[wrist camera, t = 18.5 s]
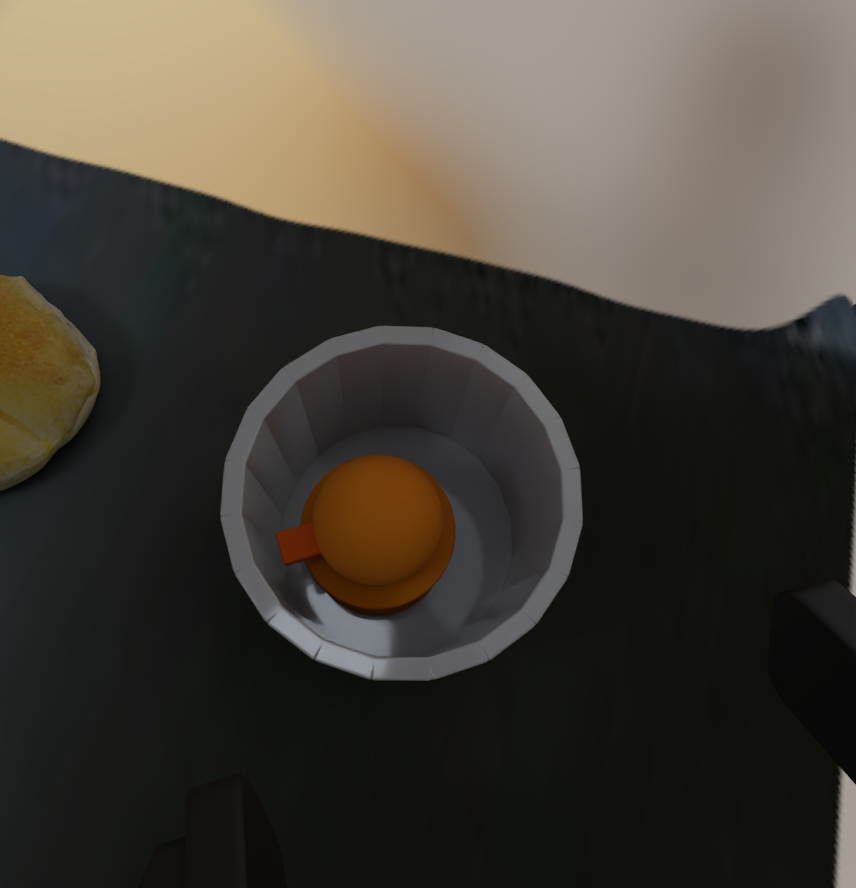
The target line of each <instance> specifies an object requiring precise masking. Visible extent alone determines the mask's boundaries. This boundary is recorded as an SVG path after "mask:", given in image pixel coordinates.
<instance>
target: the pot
mask: <svg viewBox="0 0 856 888" xmlns="http://www.w3.org/2000/svg"><path fill="white" fill-rule="evenodd" d="M366 455H390V456H396V457H399V458H402V459H406V460H408V461H410V462H412V463H415V464H416V465H418V466H420V467H421V468H423V469H424V470H425V471H427V472H428V473H429V474H430V475H431V476H432V477H433V478H434V479H435V480H436V481H437V482H438V483H439V484H440V486H441V487H442V489H443V490H444V492H445V493H446V495H447V497H448V499H449V501H450V504H451V506H452V510H453V514H454V518H455V526H456V538H455V545H454V550H453V553H452V557H451V559H450V562H449V564H448V566H447V568H446V570H445V571H444V573H443V575H442V576H441V577H440V579H439V580H438V581H437V582H436V584H435V585H434V586H433V587H432V589H431V590H430V591H429V592H428V594H427V595H426V596H424V597H423V598H422V599H421V600H420V601H419V602H417V603H416V604H415V605H413V606H411V607H410V608H408V609H406V610H404V611H401V612H398V613H395V614H391V615H384V616H370V615H364V614H360V613H356V612H353V611H351V610H349V609H347V608H345V607H343V606H342V605H340V604H339V603H337V602H336V601H335V600H334V599H332V598H331V597H330V596H329V595H328V593H327V592H326V591H325V590H324V589H323V588H322V587H321V585H320V584H319V583H318V582H317V581H316V580H315V578H314V577H313V575H312V574H311V572H310V571H309V569H308V567H307V565H306V563H305V561H303V562H300V563H296V564H293V565H290V566H286V565H285V564H284V563H283V561H282V557H281V553H280V549H279V546H278V542H277V538H276V533H277V532H280V531H283V530H287V529H290V528H294V527H297V526H300V520H301V516H302V511H303V508H304V506H305V503H306V501H307V499H308V497H309V495H310V493H311V491H312V490H313V488H314V487H315V486H316V484H317V483H318V482H319V481H320V480H321V479H322V478H323V477H324V476H325V475H326V474H327V473H328V472H329V471H331V470H332V469H334V468H335V467H337V466H338V465H340V464H342V463H344V462H346V461H348V460H351V459H354V458H357V457H361V456H366ZM579 468H580V466H579V463H578V460H577V458H576V455H575V452H574V450H573V447H572V444H571V442H570V439H569V436H568V434H567V431H566V429H565V426H564V423H563V421H562V418H560V415H559V414H558V413H557V412H556V410H555V409H554V408H553V406H552V405H551V404H550V403H549V401H548V400H547V399H546V397H545V396H544V395H543V394H542V392H541V391H540V390H539V389H538V387H537V386H536V385H535V383H534V382H533V381H532V380H531V378H530V377H529V376H527V374H526V373H525V372H523V371H522V370H520V369H519V368H517V367H516V366H515V365H513V364H512V363H510V362H509V361H507V360H506V359H505V358H503V357H502V356H500V355H499V354H497V353H496V352H495V351H493V350H492V349H490V348H489V347H487V346H486V345H484V346H483V344H482V343H479V342H476V341H473V340H470V339H467V338H464V337H461V336H458V335H455V334H452V333H449V332H446V331H443V330H440V329H437V328H434V329H433V328H431V327H403V326H381V327H380V326H377V327H373V328H369V329H365V330H362V331H358V332H354V333H350V334H346V335H343V336H339V337H335V338H331V339H329V341H328V340H327V341H325V342H324V343H322V344H320V345H319V346H317V347H315V348H314V349H312V350H311V351H309V352H307V353H306V354H304V355H302V356H301V357H299V358H298V359H296V360H294V361H293V362H291V363H290V364H288V365H286V366H285V367H284V368H282V369H281V370H280V371H279V372H278V373H277V374H276V375H275V377H274V378H273V379H272V380H271V381H270V382H269V383H268V385H267V386H266V387H265V388H264V389H263V390H262V392H261V393H260V394H259V395H258V396H257V397H256V398H255V400H254V401H253V402H252V403H251V404H250V405H249V407H248V408H247V411H246V412H245V414H244V416H243V418H242V421H241V423H240V426H239V428H238V430H237V433H236V435H235V437H234V440H233V442H232V444H231V447H230V449H229V451H228V454H227V456H226V461H225V463H224V473H223V485H222V498H221V510H220V516H221V519H220V520H221V524H222V528H223V532H224V536H225V540H226V544H227V548H228V552H229V556H230V560H231V564H232V568H233V571H234V573H235V576H236V577H237V579H238V580H239V582H240V584H241V585H242V587H243V588H244V590H245V591H246V593H247V594H248V596H249V597H250V599H251V601H252V602H253V604H254V605H255V607H256V608H257V610H258V611H259V613H260V614H261V616H262V618H263V619H264V621H266V622H267V623H268V625H269V626H270V627H272V628H273V629H274V630H276V631H277V632H278V633H279V634H281V635H282V636H283V637H284V638H286V639H287V640H288V641H290V642H291V643H292V644H293V645H295V646H296V647H297V648H299V649H300V650H301V651H302V652H304V653H305V654H306V655H307V656H309V657H310V658H311V659H315V661H317V662H320V663H323V664H326V665H328V666H331V667H334V668H337V669H340V670H343V671H346V672H349V673H352V674H354V675H357V676H360V677H363V678H366V679H371V678H372V680H416V681H429V680H431V679H433V680H435V679H438V678H441V677H444V676H447V675H450V674H453V673H456V672H459V671H462V670H465V669H468V668H471V667H474V666H477V665H480V664H483V663H486V662H487V661H488V660H492V659H493V658H494V657H495V656H497V655H498V654H499V653H501V652H502V651H503V650H505V649H506V648H507V647H509V646H510V645H511V644H512V643H514V642H515V641H516V640H518V639H519V638H520V637H522V636H523V635H524V634H526V633H527V632H528V631H529V630H531V629H532V628H533V627H534V626H535V624H537V623H538V622H539V620H540V619H541V617H542V616H543V614H544V613H545V611H546V610H547V608H548V607H549V605H550V604H551V602H552V601H553V599H554V598H555V596H556V595H557V593H558V592H559V590H560V589H561V587H562V586H563V584H564V583H565V581H566V580H567V577H568V576H569V573H570V570H571V566H572V562H573V559H574V555H575V551H576V548H577V544H578V540H579V537H580V533H581V529H582V526H583V523H582V522H583V513H582V493H581V473H580V469H579Z"/></svg>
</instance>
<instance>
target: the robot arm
mask: <svg viewBox="0 0 856 888" xmlns="http://www.w3.org/2000/svg"><path fill="white" fill-rule="evenodd" d="M768 670H769V674H770V677H771V680H772V683H773V685H774V687H775V689H776V691H777V693H778V695H779V696H780V698H781V699H782V701H783V702H784V703H785V705H786V706H787V707H788V708H789V709H790V710H791V712H792V713H793V714H794V715H795V716H796V717H797V718H798V719H799V721H800V722H801V723H802V724H803V725H804V726H805V727H806V729H807V730H808V731H809V732H810V733H811V734H812V735H813V737H814V738H815V739H816V740H817V741H818V742H819V743H820V744H821V746H822V747H823V748H824V749H825V750H826V751H827V752H828V754H829V755H830V756H831V757H832V758H833V759H834V760H835V762H836V763H837V764H838V765H839V766H840V767H841V768H842V769H843V771H844V772H845V773H846V774H847V775H848V776H849V777H850V779H851V780H852V781H853V782H854V783H855V784H856V597H855V596H854V595H853V594H851V593H850V592H849V591H848V590H847V589H846V588H844V587H843V586H842V585H841V584H839V583H838V582H836V581H835V580H832V579H829V578H821V579H818V580H815V581H813V582H810V583H807V584H804V585H801V586H798V587H795V588H792V589H789V590H786V591H783V592H780V593H778V594H777V595H776V596H775V599H774V603H773V612H772V623H771V633H770V644H769V654H768ZM138 888H287V884H286V876H285V869H284V864H283V859H282V855H281V851H280V847H279V844H278V840H277V837H276V835H275V832H274V830H273V828H272V826H271V823H270V821H269V819H268V817H267V815H266V813H265V810H264V808H263V806H262V804H261V802H260V800H259V797H258V795H257V793H256V791H255V789H254V786H253V784H252V782H251V780H250V778H249V776H248V774H247V773H246V772H245V771H241V772H238V773H235V774H232V775H230V776H227V777H224V778H221V779H218V780H215V781H212V782H209V783H206V784H203V785H200V786H197V787H194V788H191V789H190V790H189V791H188V794H187V799H186V828H185V836H184V837H181V838H179V839H176V840H173V841H170V842H167V843H164V844H161V845H158V846H156V847H155V850H154V852H153V854H152V857H151V859H150V861H149V864H148V866H147V868H146V871H145V873H144V875H143V878H142V880H141V882H140V885H139V887H138Z"/></svg>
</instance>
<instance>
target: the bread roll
mask: <svg viewBox="0 0 856 888" xmlns="http://www.w3.org/2000/svg"><path fill="white" fill-rule="evenodd" d="M99 389H100V370H99V364H98V361H97V353H96V350H95V349H94V347H93V346H92V345H91V344H90V343H89V342H88V340H87V339H86V338H85V337H84V336H83V335H82V334H81V332H80V331H79V330H78V329H77V328H76V326H75V325H73V324H72V322H70V321H68V320H67V318H65V317H64V315H63V314H62V312H61V311H60V310H58V309H57V308H56V307H55V306H54V305H52V304H50V303H49V302H47V301H46V300H45V298H44V297H43V296H42V294H40V293H39V292H37V291H36V290H35V289H34V288H33V287H32V286H31V285H30V284H29V283H28V282H27V281H26V280H25V279H24V278H23V277H22V276H18V277H9V276H4V275H0V491H1V490H5V489H7V488H10V487H12V486H14V485H16V484H18V483H20V482H22V481H24V480H26V479H27V478H29V477H31V476H32V475H34V474H35V473H37V472H38V471H39V470H40V469H42V468H43V467H44V466H45V465H46V463H47V462H48V461H49V460H50V459H51V457H52V456H53V455H54V454H55V453H56V451H57V450H58V449H59V448H61V447H62V446H63V445H65V444H66V443H67V442H69V441H70V440H71V439H72V438H73V437H74V436H75V435H76V434H77V433H78V431H79V430H80V429H81V427H82V426H83V425H84V423H85V422H86V420H87V419H88V417H89V415H90V413H91V411H92V409H93V407H94V404H95V401H96V398H97V395H98V392H99Z"/></svg>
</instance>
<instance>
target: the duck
mask: <svg viewBox="0 0 856 888" xmlns="http://www.w3.org/2000/svg"><path fill="white" fill-rule="evenodd" d="M276 538H277V542H278V546H279V549H280V553H281V557H282V561H283V563H284V564H285V565H286V566H290V565H293V564H296V563H300V562H303V561H305V563H306V565H307V567H308V569H309V571H310V572H311V574H312V575H313V577H314V578H315V580H316V581H317V582H318V583H319V584H320V585H321V587H322V588H323V589H324V590H325V591H326V592H327V593H328V595H329V596H330V597H331V598H332V599H334V600H335V601H336V602H337V603H339V604H340V605H342V606H343V607H345V608H347V609H349V610H351V611H353V612H356V613H360V614H364V615H370V616H384V615H391V614H395V613H398V612H401V611H404V610H406V609H408V608H410V607H411V606H413V605H415V604H416V603H417V602H419V601H420V600H421V599H422V598H423V597H424V596H426V595H427V594H428V592H429V591H430V590H431V589H432V587H433V586H434V585H435V584H436V582H437V581H438V580H439V579H440V577H441V576H442V575H443V573H444V571H445V570H446V568H447V566H448V564H449V562H450V559H451V557H452V553H453V550H454V545H455V538H456V526H455V518H454V514H453V510H452V506H451V504H450V501H449V499H448V497H447V495H446V493H445V492H444V490H443V489H442V487H441V486H440V484H439V483H438V482H437V481H436V480H435V479H434V478H433V477H432V476H431V475H430V474H429V473H428V472H427V471H425V470H424V469H423V468H421V467H420V466H418V465H416V464H415V463H412V462H410V461H408V460H406V459H402V458H399V457H396V456H390V455H366V456H361V457H357V458H354V459H351V460H348V461H346V462H344V463H342V464H340V465H338V466H337V467H335V468H334V469H332V470H331V471H329V472H328V473H327V474H326V475H325V476H324V477H323V478H322V479H321V480H320V481H319V482H318V483H317V484H316V486H315V487H314V488H313V490H312V491H311V493H310V495H309V497H308V499H307V501H306V503H305V506H304V508H303V511H302V516H301V520H300V526H297V527H294V528H290V529H287V530H283V531H280V532H277V533H276Z"/></svg>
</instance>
